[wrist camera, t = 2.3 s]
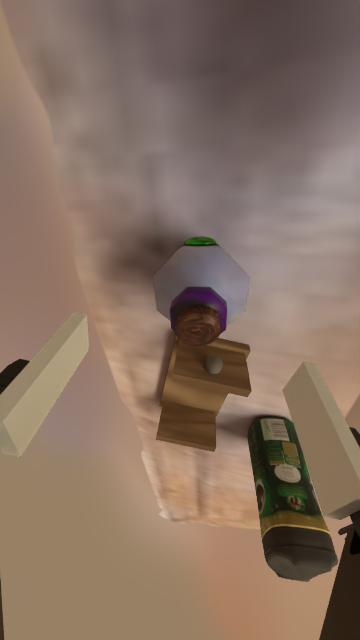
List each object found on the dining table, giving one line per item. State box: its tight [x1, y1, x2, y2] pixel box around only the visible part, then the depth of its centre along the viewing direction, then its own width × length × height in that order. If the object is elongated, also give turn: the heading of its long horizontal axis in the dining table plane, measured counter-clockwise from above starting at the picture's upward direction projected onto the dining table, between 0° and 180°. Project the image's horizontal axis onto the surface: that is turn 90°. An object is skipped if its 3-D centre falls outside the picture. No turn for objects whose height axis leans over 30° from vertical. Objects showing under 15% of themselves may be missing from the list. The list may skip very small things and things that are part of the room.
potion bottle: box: [152, 237, 250, 346], centre depth 20 cm, size 9×9×12 cm
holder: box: [156, 336, 251, 452], centre depth 33 cm, size 17×10×7 cm, turn 169°
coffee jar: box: [248, 416, 338, 582], centre depth 35 cm, size 10×8×19 cm
